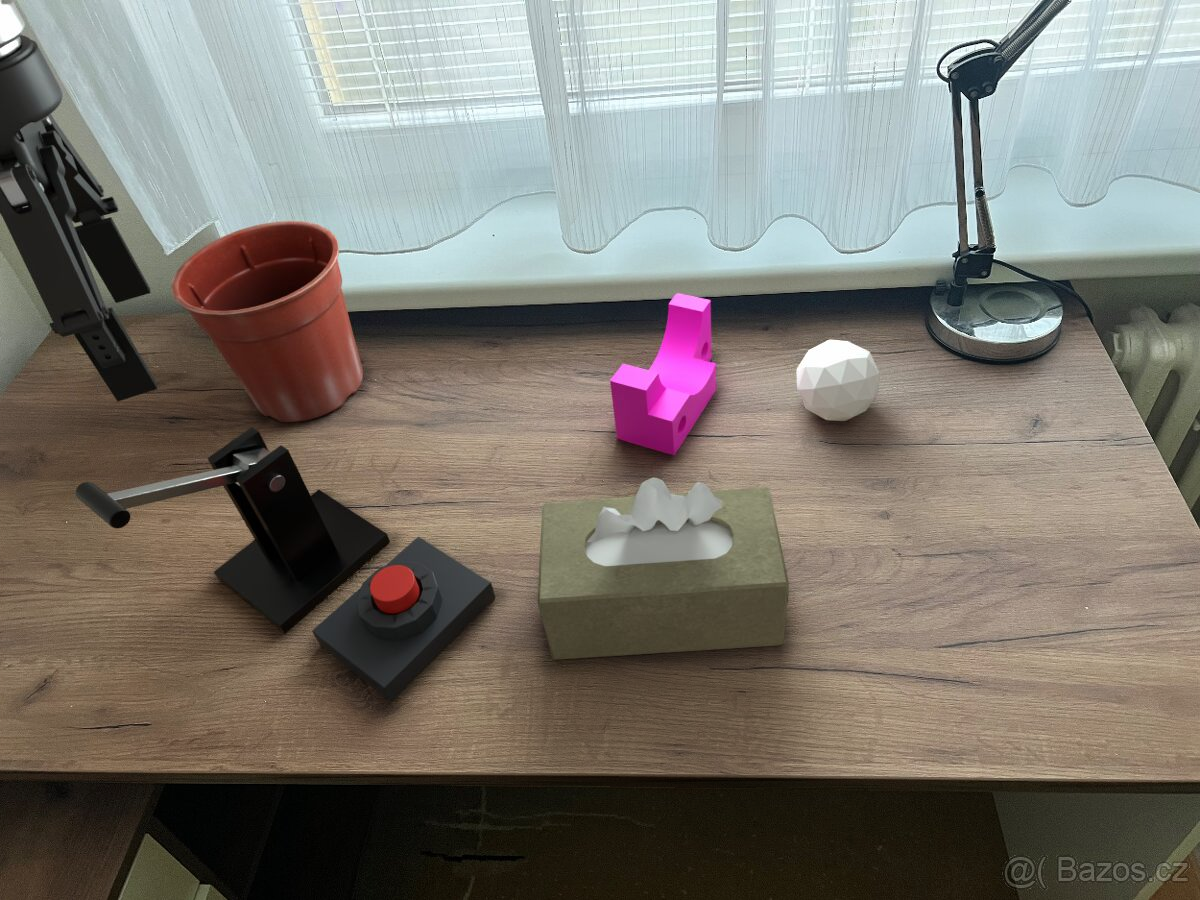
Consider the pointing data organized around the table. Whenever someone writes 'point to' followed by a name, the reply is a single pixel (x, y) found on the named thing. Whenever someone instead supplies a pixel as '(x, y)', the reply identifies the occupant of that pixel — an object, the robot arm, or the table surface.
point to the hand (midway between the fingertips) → (135, 341)
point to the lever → (162, 489)
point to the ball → (837, 380)
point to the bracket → (290, 536)
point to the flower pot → (276, 316)
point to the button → (394, 589)
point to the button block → (405, 620)
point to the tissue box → (662, 573)
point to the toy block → (668, 381)
